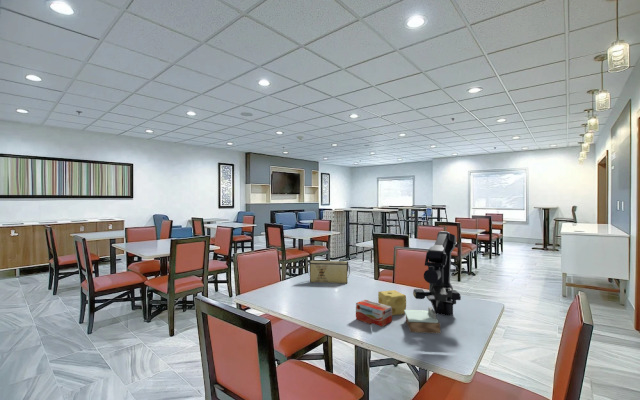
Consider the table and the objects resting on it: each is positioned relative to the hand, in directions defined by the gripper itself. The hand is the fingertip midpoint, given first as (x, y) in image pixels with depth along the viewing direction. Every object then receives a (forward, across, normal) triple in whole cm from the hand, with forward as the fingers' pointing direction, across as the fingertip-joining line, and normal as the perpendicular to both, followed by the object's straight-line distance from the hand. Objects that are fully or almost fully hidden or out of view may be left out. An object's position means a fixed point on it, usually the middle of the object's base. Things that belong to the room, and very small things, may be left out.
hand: (436, 314), depth 133 cm
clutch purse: (+7, -53, +73) cm, 90 cm away
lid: (+1, -7, 0) cm, 7 cm away
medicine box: (+7, -27, +6) cm, 28 cm away
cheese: (+7, -17, +18) cm, 26 cm away
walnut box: (+7, -6, 0) cm, 9 cm away
